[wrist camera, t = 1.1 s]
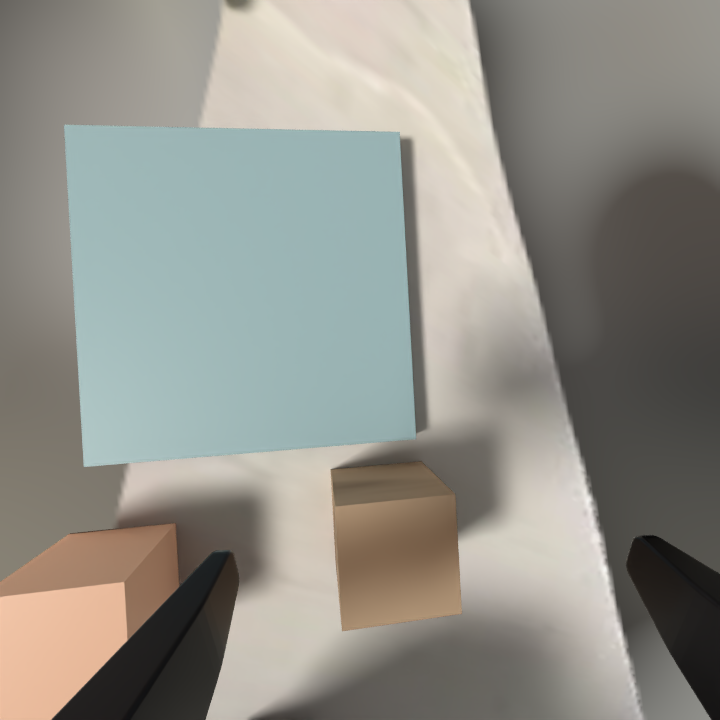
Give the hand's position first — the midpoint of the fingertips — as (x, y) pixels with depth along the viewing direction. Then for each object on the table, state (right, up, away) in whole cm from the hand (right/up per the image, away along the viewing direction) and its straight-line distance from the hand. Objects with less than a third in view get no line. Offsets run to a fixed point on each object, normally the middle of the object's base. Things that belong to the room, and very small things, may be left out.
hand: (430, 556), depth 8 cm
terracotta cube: (-13, -7, +10) cm, 18 cm away
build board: (-7, +8, +11) cm, 15 cm away
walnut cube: (-1, -4, +12) cm, 12 cm away
